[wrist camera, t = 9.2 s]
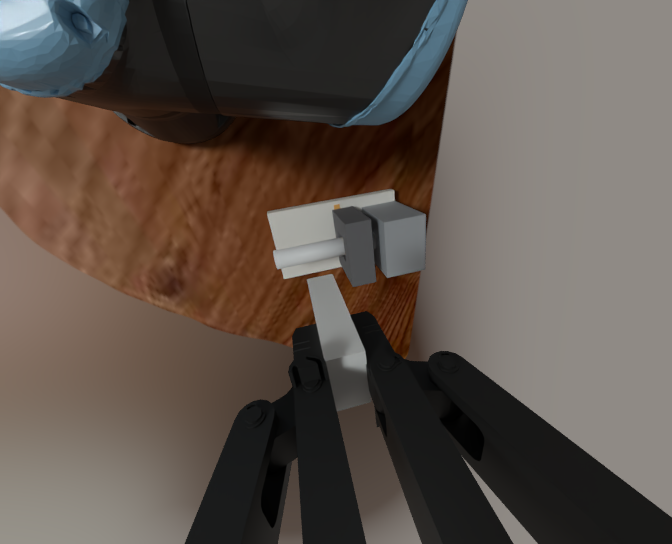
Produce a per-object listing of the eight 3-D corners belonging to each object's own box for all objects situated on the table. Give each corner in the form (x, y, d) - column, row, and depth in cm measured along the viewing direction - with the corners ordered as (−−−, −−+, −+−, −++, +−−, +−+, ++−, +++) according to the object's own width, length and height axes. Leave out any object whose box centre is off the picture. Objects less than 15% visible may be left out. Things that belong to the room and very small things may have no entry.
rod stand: (283, 274, 41) (285, 311, 31) (267, 211, 36) (263, 232, 27) (393, 251, 43) (425, 279, 33) (390, 188, 38) (426, 200, 29)
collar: (339, 262, 40) (353, 286, 32) (331, 209, 36) (344, 224, 29) (358, 258, 40) (376, 281, 33) (352, 206, 36) (370, 219, 29)
